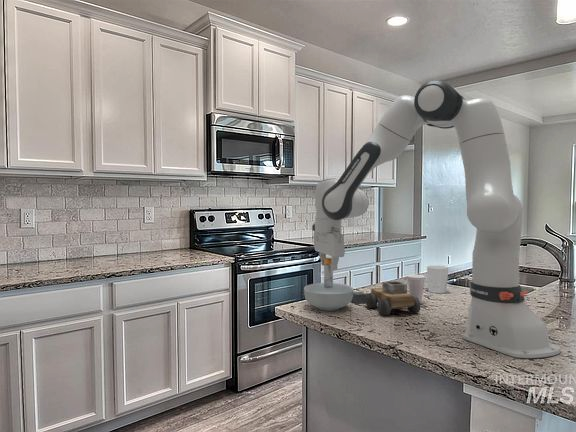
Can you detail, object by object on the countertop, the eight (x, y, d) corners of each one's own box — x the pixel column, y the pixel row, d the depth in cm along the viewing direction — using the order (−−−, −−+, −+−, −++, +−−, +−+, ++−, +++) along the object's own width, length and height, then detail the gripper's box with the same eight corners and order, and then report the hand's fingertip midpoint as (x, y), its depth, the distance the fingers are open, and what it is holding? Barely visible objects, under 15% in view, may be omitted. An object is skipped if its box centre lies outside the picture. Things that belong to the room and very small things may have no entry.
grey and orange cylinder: (334, 288, 136) (334, 258, 136) (325, 288, 135) (325, 259, 135) (331, 286, 139) (331, 257, 139) (322, 286, 138) (322, 257, 138)
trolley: (420, 314, 129) (420, 286, 128) (385, 317, 125) (385, 288, 125) (397, 303, 142) (397, 278, 142) (365, 306, 139) (365, 280, 139)
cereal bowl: (294, 308, 137) (293, 287, 137) (323, 299, 149) (323, 280, 149) (334, 317, 126) (334, 295, 125) (363, 307, 138) (363, 286, 138)
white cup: (451, 293, 156) (451, 268, 156) (430, 294, 156) (430, 268, 156) (443, 289, 164) (443, 265, 164) (424, 289, 164) (424, 265, 164)
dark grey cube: (366, 303, 143) (366, 294, 143) (356, 304, 142) (356, 294, 142) (361, 301, 147) (361, 291, 147) (351, 301, 146) (351, 292, 146)
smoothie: (423, 300, 146) (423, 262, 145) (427, 305, 139) (427, 265, 139) (405, 300, 146) (405, 262, 146) (408, 305, 140) (408, 265, 140)
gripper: (349, 228, 127) (349, 271, 128) (326, 225, 147) (327, 262, 147) (330, 228, 126) (331, 272, 126) (310, 225, 145) (310, 263, 146)
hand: (328, 267), depth 137 cm, fingers open, 8 cm apart
